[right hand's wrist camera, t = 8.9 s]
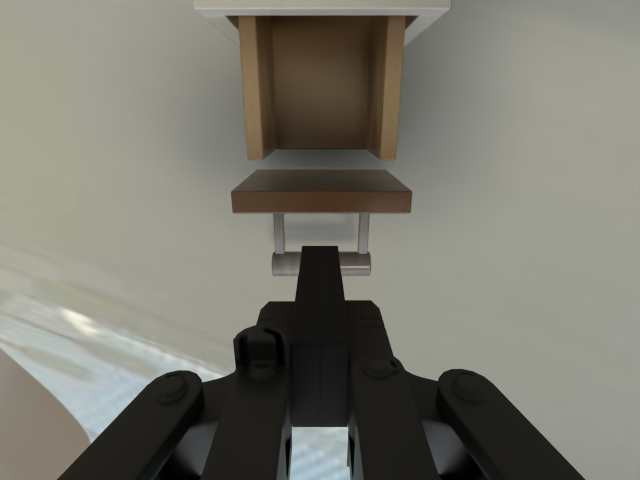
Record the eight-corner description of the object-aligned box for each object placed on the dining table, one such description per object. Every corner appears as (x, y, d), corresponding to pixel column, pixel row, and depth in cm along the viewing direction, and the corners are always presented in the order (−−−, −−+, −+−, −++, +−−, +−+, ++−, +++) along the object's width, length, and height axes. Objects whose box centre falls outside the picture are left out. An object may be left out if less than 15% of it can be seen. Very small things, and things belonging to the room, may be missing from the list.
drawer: (380, 254, 27) (402, 304, 20) (261, 254, 27) (240, 304, 20) (402, -79, 20) (447, -187, 13) (241, -79, 20) (196, -186, 13)
